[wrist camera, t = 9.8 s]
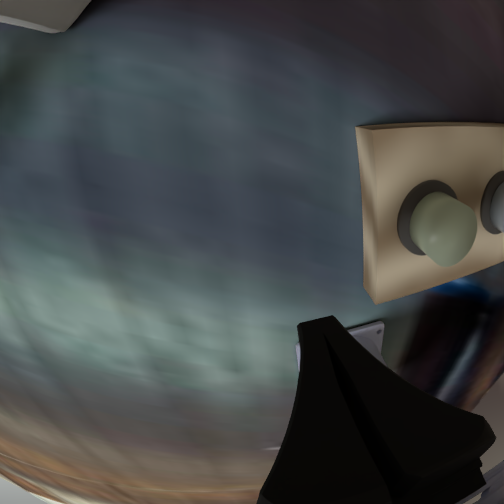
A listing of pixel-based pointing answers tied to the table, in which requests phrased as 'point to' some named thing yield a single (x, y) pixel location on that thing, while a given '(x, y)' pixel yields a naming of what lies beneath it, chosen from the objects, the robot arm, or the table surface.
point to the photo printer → (42, 13)
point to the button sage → (443, 228)
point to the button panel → (415, 189)
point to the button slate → (498, 208)
